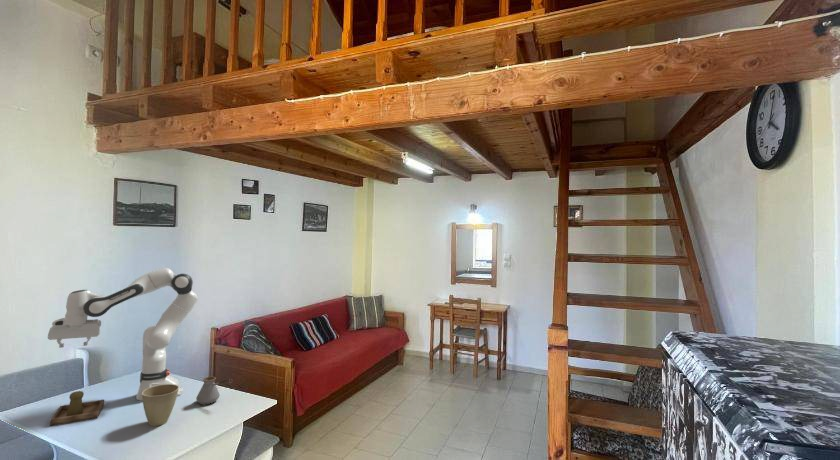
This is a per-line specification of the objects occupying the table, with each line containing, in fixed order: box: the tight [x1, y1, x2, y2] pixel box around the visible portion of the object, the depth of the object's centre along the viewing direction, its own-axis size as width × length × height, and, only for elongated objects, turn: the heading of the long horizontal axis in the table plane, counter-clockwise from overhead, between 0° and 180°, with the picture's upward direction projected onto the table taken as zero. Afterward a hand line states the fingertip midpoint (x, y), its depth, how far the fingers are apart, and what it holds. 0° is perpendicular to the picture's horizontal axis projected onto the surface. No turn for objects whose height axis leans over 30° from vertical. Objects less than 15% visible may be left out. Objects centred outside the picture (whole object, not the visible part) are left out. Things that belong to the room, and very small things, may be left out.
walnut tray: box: [49, 399, 105, 427], centre depth 181 cm, size 17×17×3 cm
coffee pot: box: [195, 376, 232, 406], centre depth 201 cm, size 21×12×15 cm, turn 72°
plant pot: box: [142, 384, 180, 427], centre depth 177 cm, size 15×15×16 cm
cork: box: [66, 390, 85, 417], centre depth 179 cm, size 6×6×11 cm
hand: (73, 346), depth 192 cm, fingers open, 8 cm apart
